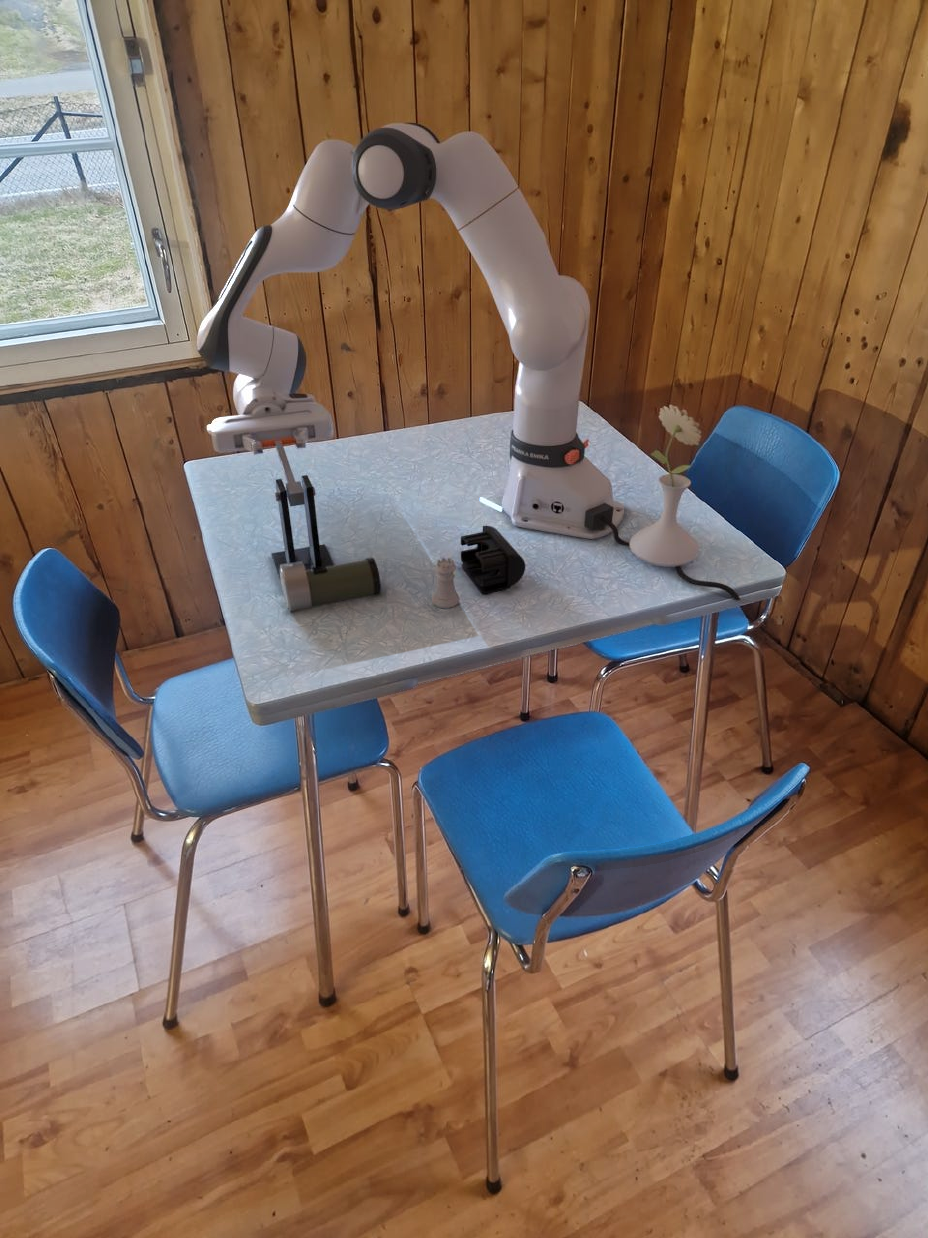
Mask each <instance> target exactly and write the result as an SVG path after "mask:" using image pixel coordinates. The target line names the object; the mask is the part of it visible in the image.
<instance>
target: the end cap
mask: <svg viewBox="0 0 928 1238" xmlns="http://www.w3.org/2000/svg"><path fill="white" fill-rule="evenodd" d="M460 546H467V547H471V546H476V547H474V548H471V549H470V548H469V549H466V550H461V551H460V561H461V569H462V570H463V572H464V573H465V574H466V576H467V578H469V580H470V581H471V582H472V583H473V585H474V586H475V588H476V589H477V590H478V591H479V593H480V594H481V595H483V596H487V595H491V594H495V593H496V594H497V593H499V592H505V591H507V590H509V589H510V588H511V587H513V586H515V585H516V584H517V583H519V582H520V581H521V580H522V578H523V577H524V574H525V572H526V562H525V560H524V558H523V557H522V556H521V554H519V553H518V552H517V550H516V549H515V548H514V547H513V545H512V544H511V543H510V542H509V541H508V540H507V539H506V538H505V537H504V536H503V534H502V533H500V531H499V530H498V529H497V528H496V527H494V526H492V525H483V526H482V531H480V532H475V533H470V534H466V535H462V536H460Z"/></svg>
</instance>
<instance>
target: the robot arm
mask: <svg viewBox="0 0 928 1238" xmlns="http://www.w3.org/2000/svg"><path fill="white" fill-rule="evenodd" d="M429 199H432V200H434V201H436V202H438V203H439V204H440V205H441V206H442V208H443V209H444V210H445V211H446V213H447V215H448V216H449V218H450V219H451V221H452V223H453V224H454V226H455V228H456V229H457V231H458V233H459V235H460V236H461V239H462V240H463V242H464V243H465V245H466V247H467V248H468V251H469V252H470V254H471V256H472V258H473V259H474V261H475V262H476V264H477V266H478V267H479V270H480V272H481V273H482V275H483V277H484V279H485V281H486V283H487V285H488V288H489V290H490V293H491V295H492V298H493V300H494V301H493V302H494V303H495V305H496V309H497V311H498V313H499V315H500V316H499V317H500V318H501V320H502V323H503V325H504V327H505V330H506V332H507V335H508V339H509V344H510V347H511V351H512V353H513V355H514V357H515V358H516V360H517V361H518V368H517V369H518V370H517V376H516V382H515V386H514V401H513V405H514V406H513V426H512V427H513V429H512V430H511V432H510V438H509V459H510V466H509V473H508V478H507V482H506V487H505V491H504V493H503V497H502V499H501V504H500V505H498V504H496V503H495V502H492V501H491V500H488V499H486V498H485V497H482V496H480V497H479V502H481V503H482V504H484V505H486V506H488V507H491V508H492V509H494V510H496V511H499V512H502V511H504V512H505V513H506V514H507V515H508V516H509V517H510V521H511V523H512V525H513V526H515V527H518V528H524V529H529V530H534V531H535V530H536V531H542V532H547V533H552V534H558V535H563V536H564V535H565V536H570V537H576V538H577V537H578V538H583V539H588V540H589V539H590V540H595V539H596V540H597V539H600V538H602V537H605V536H607V535H609V534H610V533H613V539H614V540H615V542H616V543H618V544H619V545H621V546H626V547H630V545H629V543H630V542H628V541H625V540H623V539H622V538H621V537H620V536H619V530H618V528H617V527H618V526H619V525H620V524H621V522H622V521H623V519H624V516H625V507H624V505H623V503H621V502H619V501H616V500H614V493H613V486H612V482H611V480H610V479H609V478H608V477H607V476H606V475H605V473H603V472H602V471H601V470H599V468H597V466H596V465H594V464H593V462H592V461H590V460H589V459H588V458H587V457H586V456H585V454H586V453H585V451H586V448H588V446H589V440H590V439H589V438H587V439H586V440H585V441H584V442H583V441H582V440H581V438H580V436H579V433H578V432H577V427H578V418H579V417H578V416H579V407H580V394H581V388H582V387H581V386H582V380H583V373H584V365H585V358H586V349H587V343H588V342H587V341H588V334H589V327H590V318H591V317H590V316H591V304H590V302H591V301H590V299H589V295H588V293H587V291H586V289H585V287H584V286H583V285H582V283H581V282H580V281H578V280H577V279H576V278H574V277H572V276H568V275H559V273H558V270H557V267H556V265H555V262H554V260H553V257H552V255H551V251H550V249H549V246H548V242H547V237H546V235H545V232H544V231H543V228H541V225H540V223H539V222H538V220H537V218H536V216H535V214H534V212H533V211H532V209H531V207H530V205H529V203H528V202H527V199H526V198H525V196H524V194H523V193H522V190H521V188H520V187H519V185H518V184H517V181H516V180H515V178H514V177H513V175H512V173H511V172H510V170H509V168H508V167H507V165H506V164H505V163H504V161H503V159H502V158H501V156H500V155H499V153H497V151H496V150H495V149H494V148H493V147H492V145H491V144H490V143H489V142H488V141H487V139H486V138H485V137H484V136H483V135H481V134H480V133H478V132H477V131H462V132H459V133H457V134H454V135H452V136H450V137H449V138H447V139H446V140H445V141H443V142H441V141H440V140H439V138H438V136H437V135H436V134H435V132H433V131H432V130H431V129H430V128H428V127H427V126H424V124H423V125H422V124H421V123H417V122H404V123H403V122H392V123H388V124H386V125H383V126H381V127H378V128H375V129H373V130H370V131H369V132H367V133H366V134H365V135H364V136H363V137H362V138H361V140H360V141H359V142H358V143H357V145H356V146H355V145H354V144H351V143H349V142H347V141H345V140H341V139H335V138H334V139H332V138H331V139H325V140H322V141H321V142H319V143H318V144H317V146H316V147H315V148H314V149H313V152H312V153H311V155H310V156H309V158H308V160H307V162H306V164H305V166H304V167H303V169H302V171H301V173H300V176H299V178H298V180H297V183H296V185H295V187H294V190H293V193H292V196H291V199H290V202H289V204H288V206H287V208H286V209H285V211H284V212H283V213H282V215H281V216H279V218H278V219H277V220H276V221H274V222H273V223H272V224H266V225H262V226H260V227H259V228H258V229H257V230H256V231H255V233H254V234H253V235H252V237H251V239H250V240H249V242H248V244H247V245H246V247H245V248H244V249H243V252H242V254H241V255H240V257H239V258H238V260H237V263H235V266H234V268H233V270H232V271H231V273H230V275H229V277H228V279H227V281H226V283H225V285H224V286H223V289H222V290H221V292H220V294H219V295H218V297H217V299H216V301H215V303H214V304H213V305H212V307H211V308H210V309H209V311H208V313H207V314H206V316H205V318H204V319H203V321H202V322H201V324H200V326H199V329H198V332H197V337H196V351H197V352H198V354H199V356H200V357H201V358H202V360H203V361H204V363H205V364H206V365H207V367H209V368H210V369H212V370H217V371H221V372H226V373H233V374H236V375H237V376H236V378H235V380H234V382H233V387H232V397H233V404H234V408H235V410H236V412H237V415H227V416H220V417H216V418H214V419H213V420H212V422H211V424H207V425H206V432H207V433H208V435H210V436H211V440H212V446H213V450H214V452H217V453H220V454H223V453H231V452H239V451H249V452H252V454H253V455H254V456H256V455H263V454H264V450H263V448H262V444H261V441H268V440H276V439H283V438H291V437H294V438H295V441H296V443H295V444H294V446H295V448H296V449H297V450H299V449H306V448H307V445H306V444H307V443H308V442H314V441H320V440H321V441H322V440H328V439H331V438H332V437H333V436H334V434H335V431H334V429H335V428H334V420H333V416H332V415H331V413H330V412H329V411H328V409H327V408H326V407H325V406H324V405H322V404H321V403H319V402H316V398H315V396H314V395H313V394H311V393H297V392H298V391H299V389H300V388H301V385H302V383H303V380H304V377H305V373H306V369H307V353H306V350H305V347H304V344H303V342H302V340H301V338H300V337H299V335H298V334H297V333H294V332H292V331H289V330H286V329H283V328H280V327H277V326H274V325H269V324H267V323H263V322H260V321H258V320H255V319H252V318H248V317H245V316H244V315H243V314H244V312H245V310H246V309H247V307H248V305H249V303H250V301H251V300H252V298H253V296H254V294H255V293H256V291H257V289H258V287H259V286H260V284H261V283H262V282H263V281H264V280H266V279H267V278H269V277H272V276H275V275H279V274H289V273H291V274H292V273H293V274H294V273H301V274H305V273H306V274H313V273H320V272H324V271H327V270H330V269H332V268H334V267H335V266H337V265H339V264H340V263H341V262H343V260H344V258H345V257H346V255H347V253H349V250H350V247H351V245H352V243H353V241H354V238H355V236H356V233H357V230H358V228H359V225H360V223H361V220H362V218H363V216H364V213H365V211H366V209H367V208H368V206H369V205H372V206H374V207H376V208H378V209H382V210H388V211H389V210H391V211H393V210H394V211H395V210H400V209H403V208H406V207H410V206H411V205H416V204H419V203H421V202H426V201H428V200H429ZM674 568H675V571H676V573H677V574H678V576H679V577H680V578H681V579H682V580H683V581H685V582H686V583H688V584H691V585H694V586H700V587H708V588H714V589H715V588H716V589H720V590H722V591H724V592H726V593H728V594H729V595H730V596H731V598H732V599H733V600H735V601H740V600H741V598H740V596H739V595H738V593H737V592H736V591H735V590H734V589H733V588H732V587H730V586H729V585H726V584H724V583H722V582H716V581H707V580H698V579H695V578H692V577H690V576H689V575H687V574H686V573H685V572H684V571H683V570H682V567H681V566H675V567H674Z"/></svg>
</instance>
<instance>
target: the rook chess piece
mask: <svg viewBox="0 0 928 1238" xmlns="http://www.w3.org/2000/svg"><path fill="white" fill-rule="evenodd" d="M433 569H434V571H435V572H436V575H435V577H436V581H437V582H436V588H435V591H434V593H433V594H432V596H431V602H432V604H434V605H435V606H436V607H437V608H440V609H451V608H453V607H455V606H457V605H459V606H461V602H460V601H461V598H460V595H459V593H458V591H457V590H456V588H455V582H454V581H455V580H454V579H455V577H456V575H455V574H454V572H455V571H456V570H457V565H456V564H455V561H454V560H453V559H452V558H450V557H447V559H446V557H441V558H440V559H439V558H438V559H437V560H436V564H435V565H434V568H433Z"/></svg>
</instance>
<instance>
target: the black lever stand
mask: <svg viewBox="0 0 928 1238" xmlns="http://www.w3.org/2000/svg"><path fill="white" fill-rule="evenodd" d="M300 478H301V479H300V480H301V486H302V489H303V492H304V502H305V504H304V511H305V520H306V521H305V522H306V529H307V537H308V544H309V546H306V547H305V546H304V547H300V548H295V544H294V537H293V529H292V523H291V515H290V507H289V506H290V505H289V500H288V497H287V491H286V485H285V483H284V481H283V479H282V478H277V479H274V482H275V490H276V491H275V492H274V498H275V499H274V500H275V501H276V502H277V504H278V510H279V518H280V525H281V532H282V539H283V547H284V550H283V551H277V552H271V553H270V555H271V560H272V562H273V564H274V568H275V571H276V574H277V577H278V581H279V584H280V586H281V587H282V584H281V578H280V565H283V564H288V563H294V562H300V561H302V562H303V565H304V567H305V570H311V569H312V568H314V567H320V566H326V567H328V566H333V565H334V563H333V561H332V559H331V555H330V553H329V551H328V549H327V547H326V544H325V543H324V544H323V543H322V544H320V537H319V529H318V521H317V520H318V519H317V512H316V511H317V510H316V501H315V496H317V495H316V494H317V493H316V488H315V486H313V484H312V481H311V479H310V478H309V475H308V474H306V475H301V476H300Z"/></svg>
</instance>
